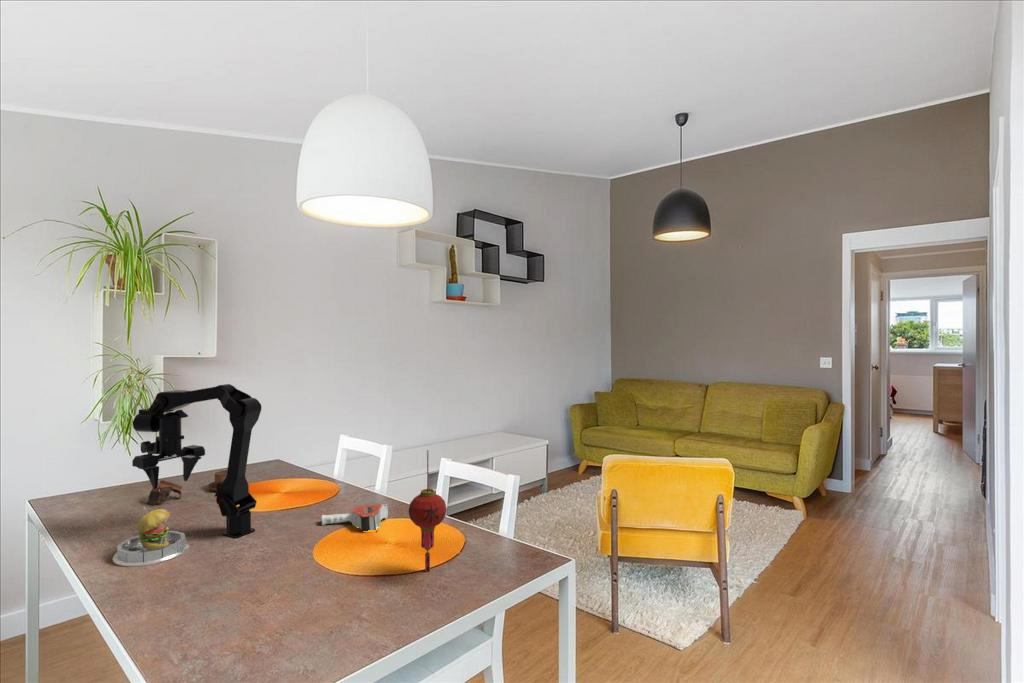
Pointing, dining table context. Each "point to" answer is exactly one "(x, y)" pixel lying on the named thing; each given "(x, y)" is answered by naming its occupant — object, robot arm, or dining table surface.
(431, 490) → the lantern
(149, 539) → the hamburger
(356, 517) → the tape dispenser
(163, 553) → the collar
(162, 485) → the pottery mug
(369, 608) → the dining table surface
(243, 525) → the robot arm
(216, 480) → the cup and saucer
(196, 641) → the dining table surface
